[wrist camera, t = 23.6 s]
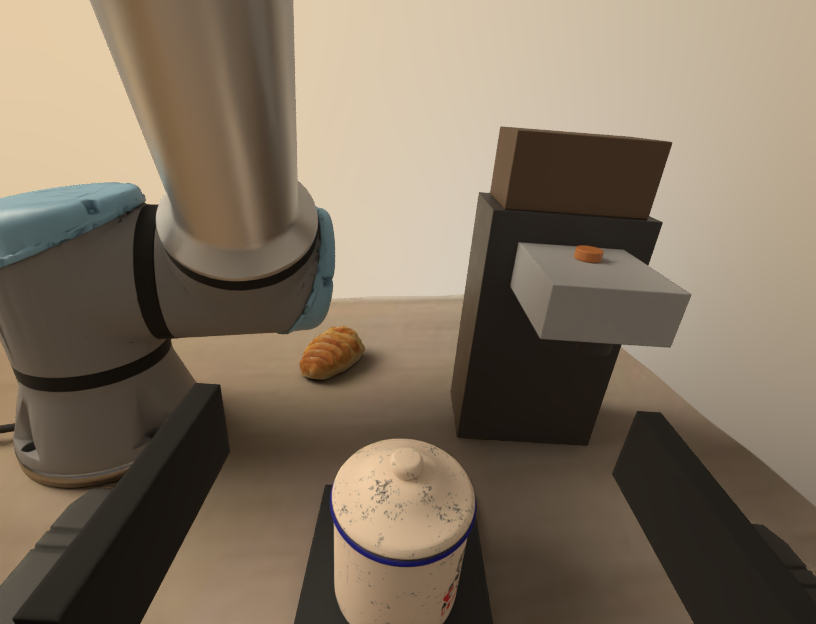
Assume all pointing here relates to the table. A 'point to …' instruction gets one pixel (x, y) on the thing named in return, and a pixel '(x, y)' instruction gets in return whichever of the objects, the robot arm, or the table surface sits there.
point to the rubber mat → (318, 603)
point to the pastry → (331, 353)
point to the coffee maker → (559, 284)
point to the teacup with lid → (400, 532)
